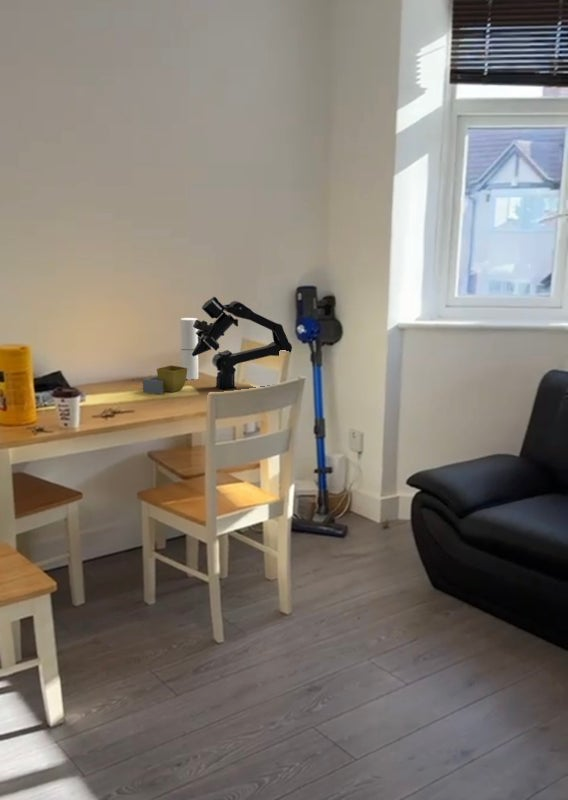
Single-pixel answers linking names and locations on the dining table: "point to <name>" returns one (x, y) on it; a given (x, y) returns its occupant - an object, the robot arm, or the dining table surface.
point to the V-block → (153, 385)
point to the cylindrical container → (189, 347)
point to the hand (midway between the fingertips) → (192, 355)
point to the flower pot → (172, 377)
